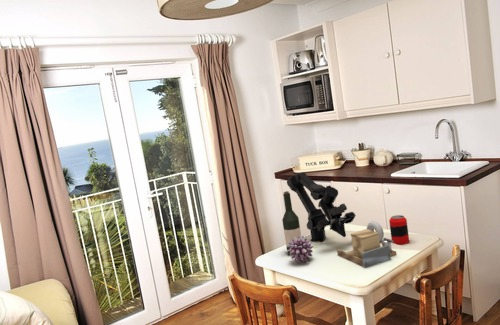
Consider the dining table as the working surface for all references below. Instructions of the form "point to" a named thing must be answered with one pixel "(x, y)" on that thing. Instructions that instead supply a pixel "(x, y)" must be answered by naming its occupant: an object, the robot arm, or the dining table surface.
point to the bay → (368, 256)
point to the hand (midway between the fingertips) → (345, 236)
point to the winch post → (388, 242)
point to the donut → (376, 229)
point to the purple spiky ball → (300, 248)
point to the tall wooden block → (364, 241)
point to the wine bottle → (290, 222)
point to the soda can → (399, 230)
